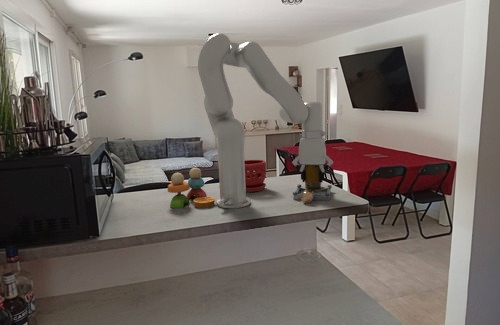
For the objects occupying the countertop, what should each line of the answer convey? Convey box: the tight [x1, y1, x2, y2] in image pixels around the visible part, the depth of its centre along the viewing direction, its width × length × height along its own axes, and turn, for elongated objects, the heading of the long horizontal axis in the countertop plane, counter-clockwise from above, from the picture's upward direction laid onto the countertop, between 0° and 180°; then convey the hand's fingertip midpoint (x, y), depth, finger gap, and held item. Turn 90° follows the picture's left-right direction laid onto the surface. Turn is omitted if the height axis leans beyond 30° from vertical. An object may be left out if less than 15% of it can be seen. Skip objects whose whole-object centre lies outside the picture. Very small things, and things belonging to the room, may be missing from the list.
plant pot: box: [244, 159, 267, 193], centre depth 161 cm, size 13×13×12 cm
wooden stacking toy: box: [167, 167, 216, 209], centre depth 145 cm, size 18×17×12 cm
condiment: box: [300, 165, 329, 191], centre depth 147 cm, size 7×8×12 cm
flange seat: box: [292, 184, 332, 205], centre depth 146 cm, size 18×14×4 cm
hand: (312, 181), depth 148 cm, fingers closed on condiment, 6 cm apart
